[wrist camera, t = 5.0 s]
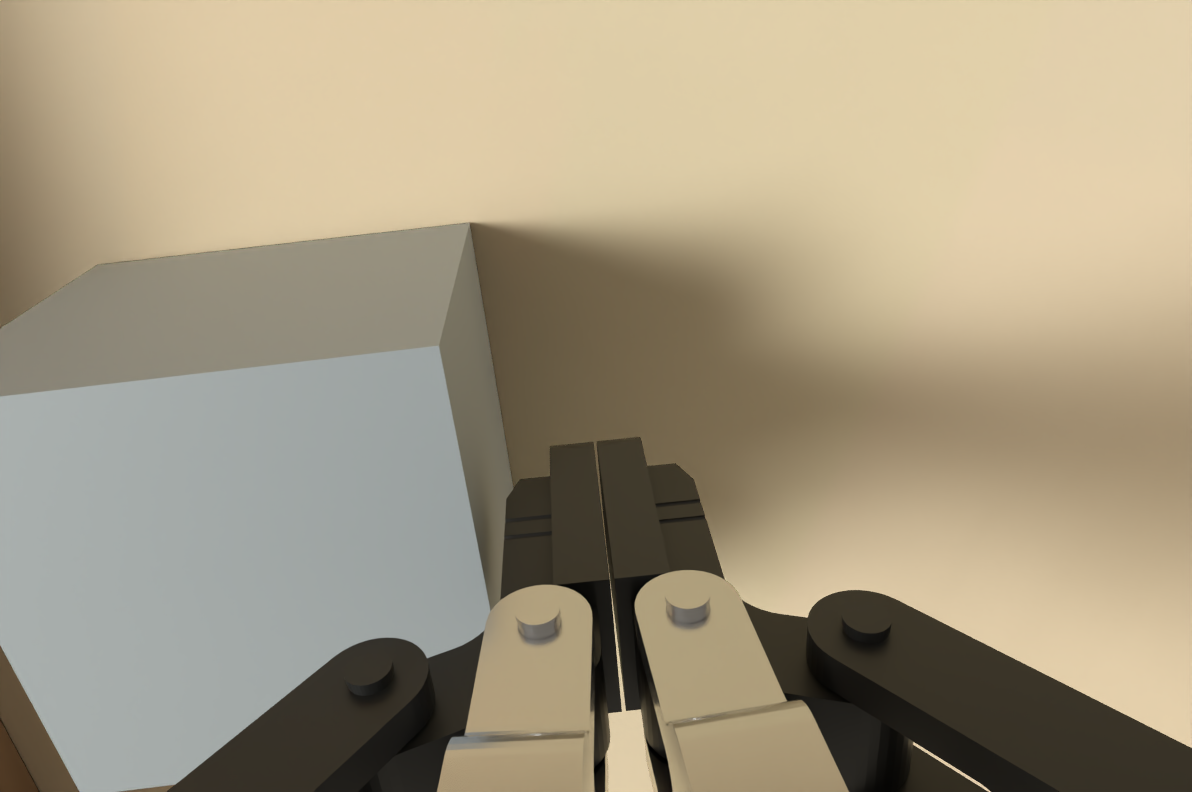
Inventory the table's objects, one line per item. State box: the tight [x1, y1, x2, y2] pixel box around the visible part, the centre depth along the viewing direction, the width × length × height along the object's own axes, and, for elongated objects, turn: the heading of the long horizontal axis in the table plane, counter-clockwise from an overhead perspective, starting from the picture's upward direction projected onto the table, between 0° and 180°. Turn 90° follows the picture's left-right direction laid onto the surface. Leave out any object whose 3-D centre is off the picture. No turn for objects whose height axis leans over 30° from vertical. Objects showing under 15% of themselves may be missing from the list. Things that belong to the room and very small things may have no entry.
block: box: [0, 223, 514, 792], centre depth 15 cm, size 7×7×6 cm
